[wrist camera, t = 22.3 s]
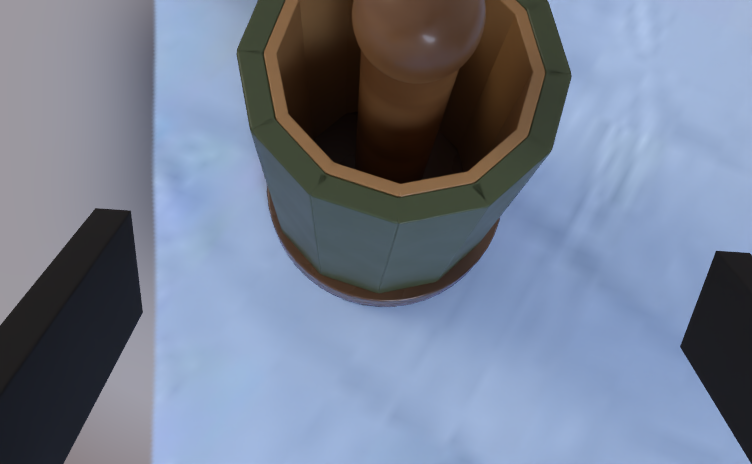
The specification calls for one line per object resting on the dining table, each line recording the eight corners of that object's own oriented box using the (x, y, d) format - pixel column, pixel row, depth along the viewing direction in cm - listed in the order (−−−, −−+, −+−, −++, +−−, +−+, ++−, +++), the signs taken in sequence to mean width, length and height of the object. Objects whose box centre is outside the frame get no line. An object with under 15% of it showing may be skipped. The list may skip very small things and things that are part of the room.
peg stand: (390, 52, 35) (434, -269, 18) (542, 204, 33) (738, -5, 17) (223, 184, 32) (104, -51, 16) (376, 356, 30) (416, 285, 14)
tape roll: (390, 48, 33) (413, -127, 22) (534, 193, 31) (632, 78, 21) (230, 174, 31) (172, 45, 20) (376, 336, 29) (395, 289, 19)
